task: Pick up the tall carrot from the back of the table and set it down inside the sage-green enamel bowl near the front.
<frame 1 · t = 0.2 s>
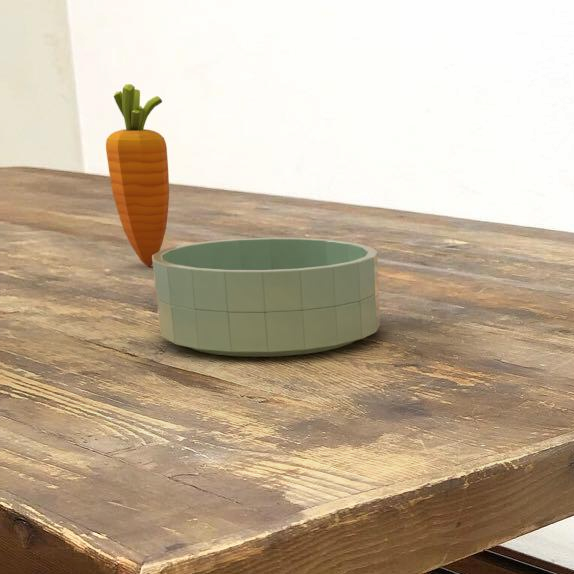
bowl: (272, 336, 82), on the table
carrot: (149, 268, 108), on the table
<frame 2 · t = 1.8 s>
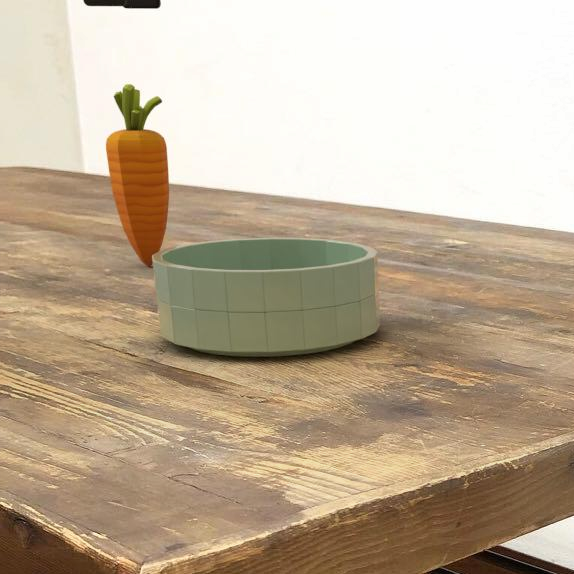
hand: (124, 7, 101), 21 cm above the table, tool pointing down, fingers open, 9 cm apart
nothing on the table moved.
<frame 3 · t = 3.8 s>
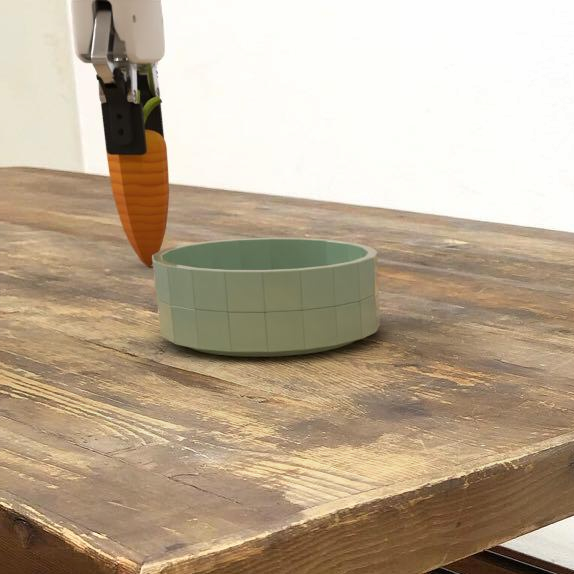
hand: (136, 149, 104), 10 cm above the table, tool pointing down, fingers closed on carrot, 4 cm apart
carrot: (149, 268, 108), on the table, touching gripper
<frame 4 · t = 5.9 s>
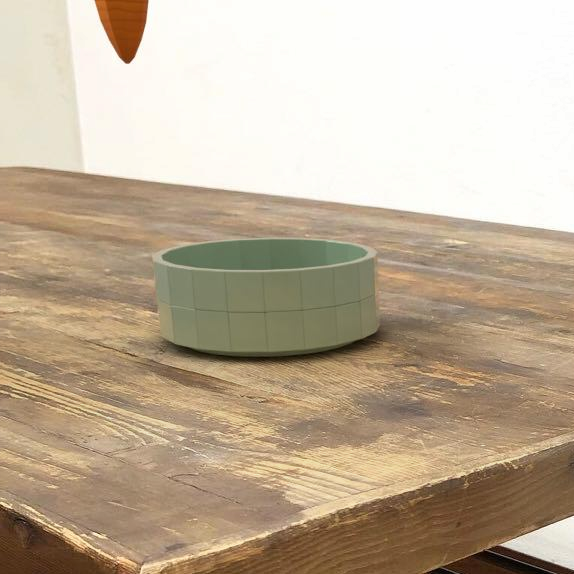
carrot: (127, 66, 100), point 16 cm above the table, touching gripper
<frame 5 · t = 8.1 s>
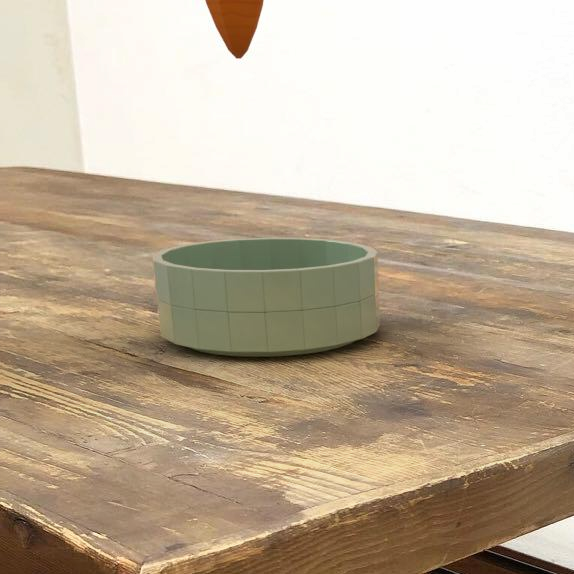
carrot: (238, 61, 78), point 17 cm above the table, touching gripper
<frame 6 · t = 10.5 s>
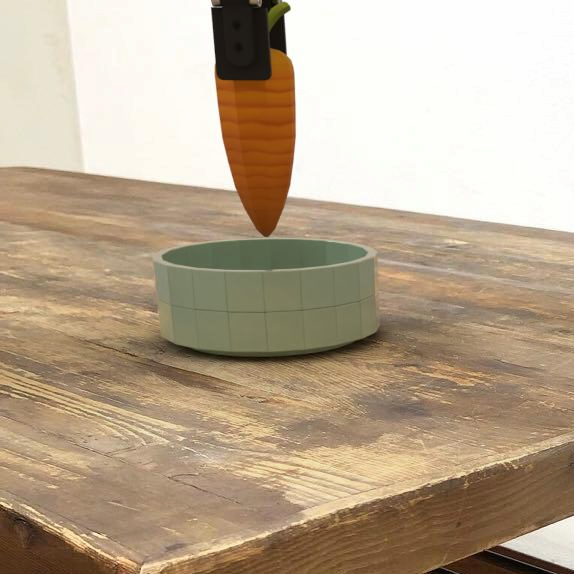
hand: (253, 75, 76), 16 cm above the table, tool pointing down, fingers closed on carrot, 4 cm apart
carrot: (266, 239, 80), point 6 cm above the table, touching gripper
when the fingers open (10 cm above the table, at t = 12.4 s): carrot stays where it is, resting on bowl.
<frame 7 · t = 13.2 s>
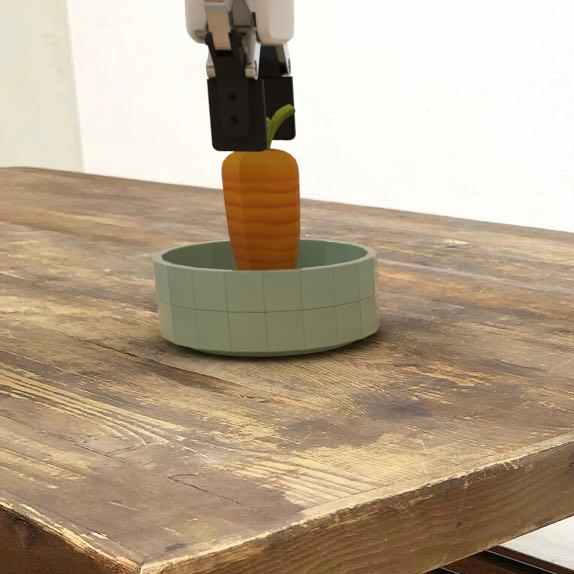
hand: (256, 145, 78), 12 cm above the table, tool pointing down, fingers open, 9 cm apart
carrot: (271, 330, 82), resting on bowl
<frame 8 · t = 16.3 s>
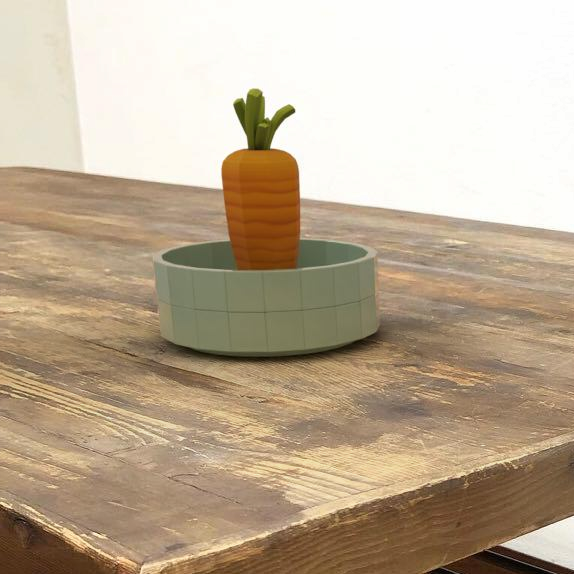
nothing on the table moved.
at the end: carrot inside the target area in the bowl (0.0 cm from its centre), point 0.4 cm above the bowl's base; the gripper is holding nothing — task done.
